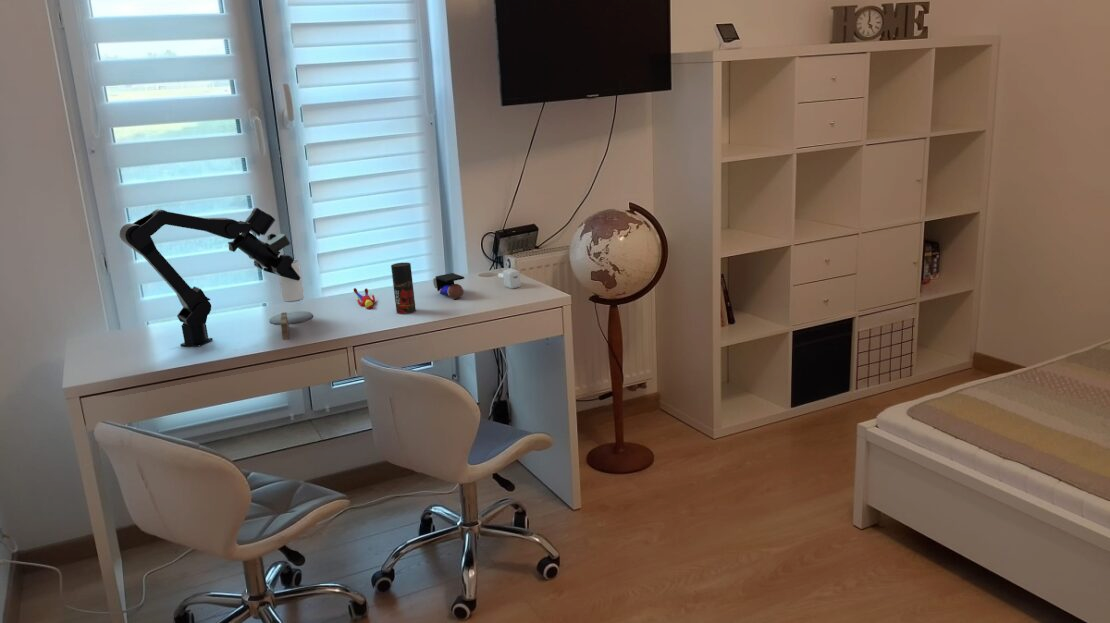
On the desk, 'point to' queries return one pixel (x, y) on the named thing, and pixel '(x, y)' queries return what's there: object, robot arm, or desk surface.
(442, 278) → the figurine character
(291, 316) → the pad
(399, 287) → the deodorant
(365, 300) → the character figure
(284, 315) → the partition
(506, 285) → the power adapter
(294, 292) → the can
